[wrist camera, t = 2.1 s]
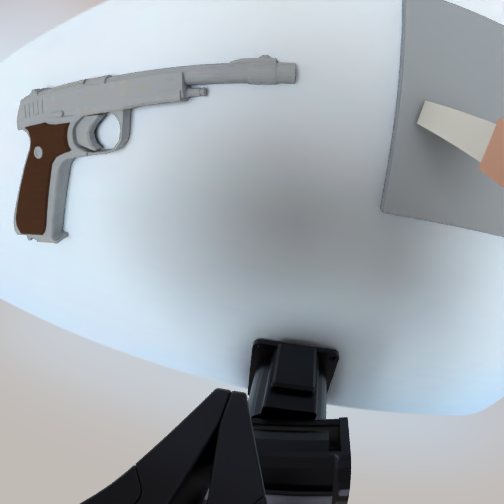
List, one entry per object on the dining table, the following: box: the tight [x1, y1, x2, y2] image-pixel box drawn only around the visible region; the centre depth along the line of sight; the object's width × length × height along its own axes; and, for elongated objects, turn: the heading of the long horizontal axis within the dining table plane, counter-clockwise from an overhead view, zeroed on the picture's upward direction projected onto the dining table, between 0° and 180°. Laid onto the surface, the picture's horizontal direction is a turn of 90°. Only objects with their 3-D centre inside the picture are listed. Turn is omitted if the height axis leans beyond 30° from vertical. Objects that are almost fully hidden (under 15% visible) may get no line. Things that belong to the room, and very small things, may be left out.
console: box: [380, 0, 504, 237], centre depth 14 cm, size 14×12×1 cm
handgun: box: [14, 55, 295, 244], centre depth 19 cm, size 2×23×12 cm
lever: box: [417, 100, 504, 188], centre depth 10 cm, size 2×3×10 cm, turn 73°
